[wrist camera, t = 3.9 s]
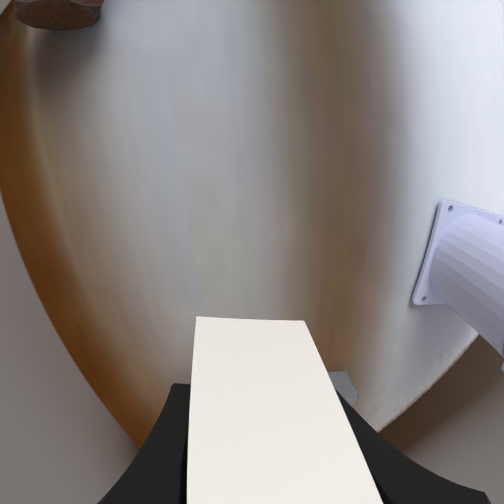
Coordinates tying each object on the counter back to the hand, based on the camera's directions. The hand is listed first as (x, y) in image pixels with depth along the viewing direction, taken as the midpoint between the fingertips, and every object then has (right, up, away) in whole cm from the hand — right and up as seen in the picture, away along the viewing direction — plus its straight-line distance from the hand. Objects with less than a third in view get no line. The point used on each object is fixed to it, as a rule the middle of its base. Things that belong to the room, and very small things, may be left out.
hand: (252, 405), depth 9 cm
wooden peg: (0, +1, +2) cm, 2 cm away
